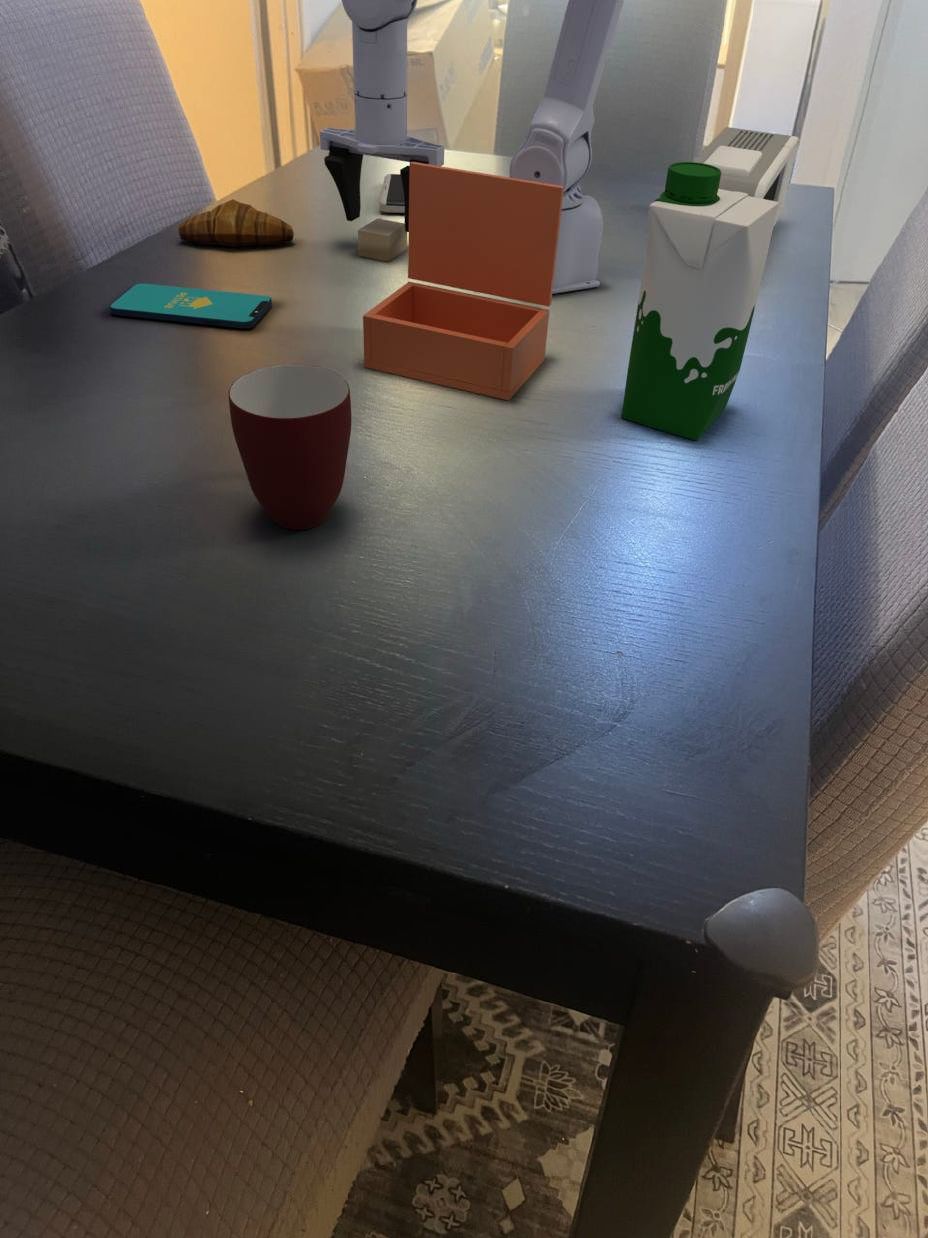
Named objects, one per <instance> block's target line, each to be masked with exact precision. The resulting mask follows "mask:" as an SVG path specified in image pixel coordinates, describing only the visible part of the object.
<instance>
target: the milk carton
mask: <svg viewBox="0 0 928 1238" xmlns="http://www.w3.org/2000/svg"><path fill="white" fill-rule="evenodd" d="M667 168H668V169H667V174H666V180H665V186H664V191H662V193H660V196H659V197H658V198H656V199H655V200H654V201H653V202H652V203H651V204H649V206H648V215H647V216H648V217H647V218H648V219H647V237H646V250H645V251H646V252H645V257H644V262H643V263H644V264H643V271H642V277H641V283H640V289H639V295H638V302H637V308H636V315H635V322H634V327H633V332H632V333H633V334H632V340H631V347H630V353H629V359H628V366H627V373H626V380H625V387H624V395H623V401H622V409H621V416H620V418H621V419H625V420H627V421H631V422H634V423H638V424H641V425H644V426H647V427H650V428H653V429H656V430H660V431H664V432H666V433H669V434H673V435H675V436H679V437H682V438H686V439H688V440H692V441H695V442H697V441H698V440H699V439H700V438H701V437H702V436H703V435H704V434H705V432H707V431H708V429H710V427H711V426H712V425H713V424H714V422H716V421H717V419H719V417H720V416H721V415H722V414H724V412H725V410H726V409H727V407H728V403H729V400H730V398H731V395H732V392H733V390H734V387H735V384H736V381H737V379H738V376H739V374H740V370H741V367H742V363H743V360H744V359H743V358H744V355H745V351H746V346H747V342H748V339H749V335H750V330H751V326H752V322H753V319H754V318H753V317H754V313H755V310H756V305H757V301H758V297H759V294H760V288H761V284H762V280H763V276H764V271H765V269H766V263H767V258H768V254H769V249H770V244H771V241H772V240H771V239H772V234H773V231H774V227H775V226H774V222H775V218H776V213H777V209H778V205H779V202H775V201H770V200H765V199H760V198H755V197H750V196H749V195H748V194H747V193H742V192H737V191H734V192H732V191H727V190H722V189H718V188H719V183H720V178H721V170H720V169H719V168H717V167H714V166H712V165H708V164H703V163H696V162H693V161H679V162H674V163H671V164H669V166H668V167H667ZM773 226H774V227H773Z"/></svg>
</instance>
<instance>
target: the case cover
mask: <svg viewBox="0 0 928 1238" xmlns="http://www.w3.org/2000/svg"><path fill="white" fill-rule="evenodd" d="M409 165H410V178H409V232H408V237H407V279H409V280H414V281H415V280H416V281H420V282H423V283H430V284H435V285H439V286H444V287H449V288H455V289H460V290H464V291H468V292H474V293H478V294H479V293H480V294H484V295H489V296H493V297H498V298H499V297H500V298H504V299H509V300H515V301H520V302H525V303H530V304H533V305H538V306H545V307H550V306H551V305H552V301H553V300H552V299H553V294H552V291H553V282H554V273H555V264H556V255H557V246H558V237H559V228H560V219H561V210H562V201H563V192H564V186H559V185H553V184H547V183H540V182H534V181H528V180H522V179H516V178H510V176H509V177H508V176H503V175H496V174H491V173H486V172H485V173H484V172H479V171H478V172H477V171H473V170H472V171H471V170H466V169H465V170H464V169H459V168H454V167H448V166H447V167H446V166H443V165H442V166H435V165H429V164H423V163H417V162H411V163H410V162H409Z"/></svg>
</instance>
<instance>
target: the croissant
mask: <svg viewBox="0 0 928 1238" xmlns="http://www.w3.org/2000/svg"><path fill="white" fill-rule="evenodd" d="M177 232H178V235H179V239H180V240H181V241H185V242H189V243H193V244H204V245H221V246H228V247H229V246H230V247H243V246H258V245H259V246H267V245H268V246H269V245H280V244H286V243H290V242H292V241H293V240H294V235H295V233H294V229H293V226H291V225H290V224H289V223H287V222H286V221H284V220H282V219H281V218H278V217H276V216H274V215H272V214H270V213H267V212H264V211H260V210H257V208H255V207H254V206H252V205H251V204H248V203H243V202H240V201H238V200H235V199H230V200H227V201H226V202H223V203H220V204H219V205H217V206H215V207H214V208H212V209H211V210H209V211H205V212H201V213H199V214H196V215H194V216H192V217H189V218H188V219H186V220H184V221H183V222H182V223H180V224H179V225H178V230H177Z"/></svg>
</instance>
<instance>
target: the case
mask: <svg viewBox="0 0 928 1238" xmlns="http://www.w3.org/2000/svg"><path fill="white" fill-rule="evenodd" d="M549 318H550V309H547V308H542V307H539V306H532V305H528V304H523V303H518V302H513V301H508V300H507V301H506V300H502V299H497V298H493V297H487V296H483V295H478V294H474V293H473V294H472V293H468V292H463V291H458V290H454V289H448V288H443V287H438V286H433V285H430V284H429V285H428V284H424V283H418V282H413V281H407V282H406V283H405V284H403V285H402V286H401V287H399V288H398V289H397V290H396V291H394V292H393V293H391V294H390V295H389V296H387V297H386V298H385V299H383V300H382V301H381V302H379V303H378V304H376V305H375V306H374V307H373V308H371V309H370V310H368V311H367V312H366V313H364V314H363V315H362V333H363V335H362V337H363V366H364V368H366V369H370V370H374V371H375V370H376V371H380V372H384V373H389V374H393V375H397V376H402V377H405V378H410V379H414V380H418V381H423V382H427V383H432V384H434V385H435V384H436V385H440V386H445V387H449V388H453V389H457V390H460V391H461V390H462V391H465V392H470V393H474V394H478V395H483V396H487V397H492V398H496V399H499V400H504V401H510V400H511V399H512V398H513V397H514V395H516V394H517V392H518V391H519V390H520V388H521V387H523V385H524V384H525V383H526V382H527V380H529V378H531V376H532V375H533V374H534V373H535V371H536V370H537V369H538V368H539V367H540V366H541V365H542V363H543V362H544V361H545V359H546V350H547V339H548V328H549Z"/></svg>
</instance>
